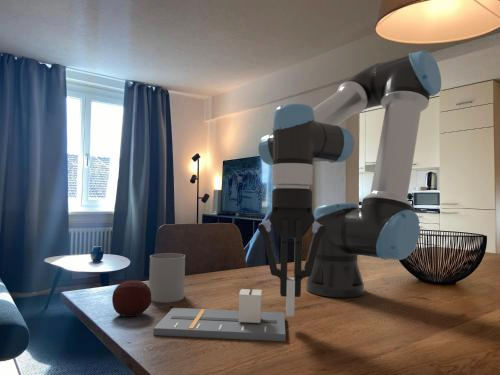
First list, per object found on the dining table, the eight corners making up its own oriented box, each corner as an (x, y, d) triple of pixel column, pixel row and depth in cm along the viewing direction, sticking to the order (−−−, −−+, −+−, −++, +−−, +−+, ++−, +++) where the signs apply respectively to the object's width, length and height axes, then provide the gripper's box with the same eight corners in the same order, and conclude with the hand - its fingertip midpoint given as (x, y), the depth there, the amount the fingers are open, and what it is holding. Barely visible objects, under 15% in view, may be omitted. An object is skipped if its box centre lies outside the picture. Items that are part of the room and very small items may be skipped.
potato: (117, 309, 78) (118, 276, 78) (154, 309, 79) (155, 276, 79) (106, 321, 71) (107, 284, 71) (147, 321, 71) (148, 284, 72)
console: (284, 318, 75) (284, 312, 75) (285, 341, 63) (285, 333, 63) (172, 313, 76) (173, 307, 76) (153, 335, 64) (153, 327, 64)
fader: (261, 315, 71) (261, 288, 71) (260, 322, 67) (260, 294, 67) (240, 315, 71) (241, 288, 71) (238, 321, 67) (239, 293, 67)
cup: (175, 303, 84) (176, 259, 84) (142, 300, 85) (143, 257, 86) (189, 294, 92) (189, 254, 92) (158, 292, 93) (159, 252, 94)
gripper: (324, 189, 73) (322, 309, 72) (258, 187, 73) (256, 306, 73) (330, 187, 65) (328, 322, 64) (256, 186, 66) (253, 318, 65)
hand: (289, 313), depth 69 cm, fingers closed
